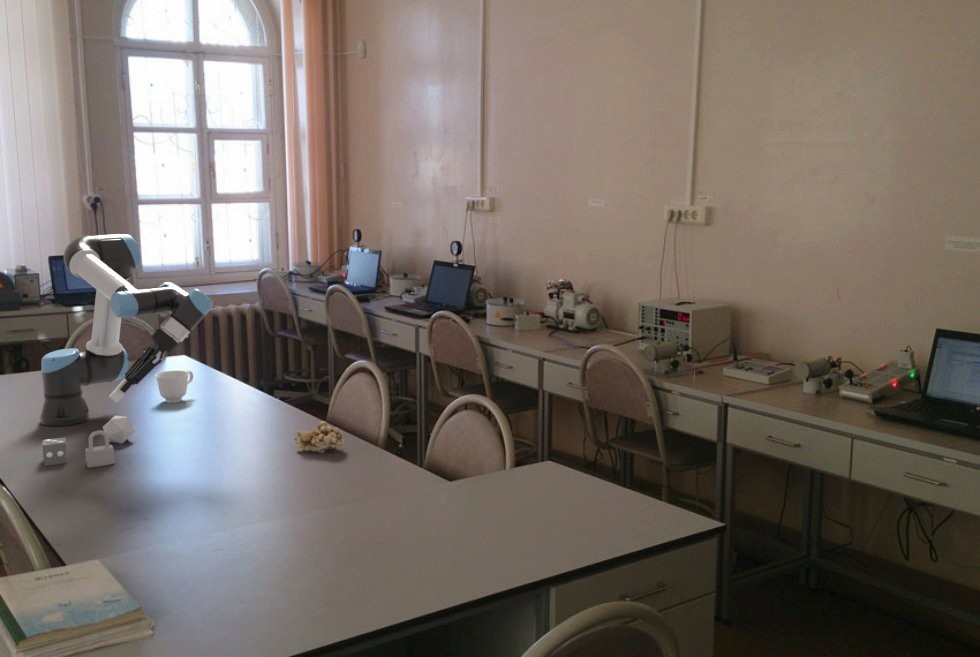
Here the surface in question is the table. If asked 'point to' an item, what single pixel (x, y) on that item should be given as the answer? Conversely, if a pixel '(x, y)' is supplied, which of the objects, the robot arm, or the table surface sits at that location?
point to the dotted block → (54, 451)
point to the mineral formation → (319, 438)
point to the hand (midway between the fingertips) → (112, 399)
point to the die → (118, 429)
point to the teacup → (173, 384)
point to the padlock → (99, 452)
